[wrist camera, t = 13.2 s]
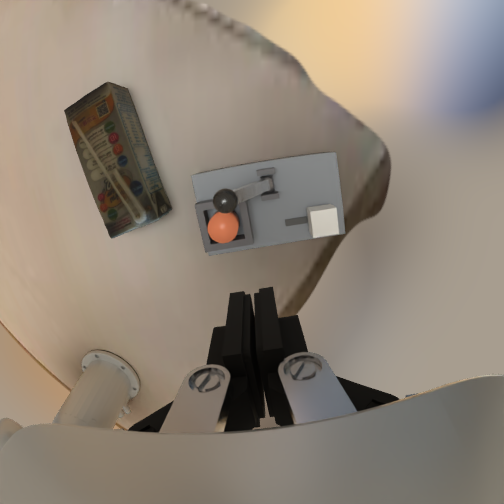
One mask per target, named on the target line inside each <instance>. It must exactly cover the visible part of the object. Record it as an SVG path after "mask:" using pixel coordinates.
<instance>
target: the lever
mask: <svg viewBox="0 0 504 504" xmlns="http://www.w3.org/2000/svg"><path fill="white" fill-rule="evenodd" d="M260 178H261V180H259V181H256V182H254V183H251V184H248V185H245V186H242V187H240V188H237V189H234V190H231V189H228V188H224V189H220V190H218V191H217V192H216V193H215V195H214V197H213V205H214V207H215V209H216V210H217V211H218V212H220V213H224V214H227V213H231V212H232V211H234V210H235V209H236V207H237V205H238V204H239V203H242V202H244V201H246V200H248V199H250V198H253V197H255V196H257V195H259V194H262V193H270V192H274V191H275V185H274V179H273V175H267V176H262V177H260Z"/></svg>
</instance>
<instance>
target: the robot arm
mask: <svg viewBox="0 0 504 504" xmlns="http://www.w3.org/2000/svg"><path fill="white" fill-rule="evenodd" d="M254 304H255V316H254V311H253V306H252V301H251V296H250V294H247V295H245V292H244V291H242V292H236V293H230V298H229V305H228V313H227V320H226V326H221V327H215V328H214V329H213V333H212V339H211V344H210V349H209V354H208V359H207V364H206V365H204V366H200V367H198V368H196V369H194V370H192V371H191V372H190V373H188V374H187V376H186V377H185V379H184V381H183V383H182V385H181V387H180V389H179V391H178V393H177V395H176V398H175V400H174V401H172V402H171V403H169V404H167V405H166V406H164V407H163V408H161V409H159V410H158V411H156V412H155V413H153V414H151V415H150V416H148V417H146V418H145V419H143V420H141V421H139V422H138V423H136V424H134V425H133V426H132V427H130V428H129V430H128V431H125V430H124V429H114V430H113V428H114V426H115V423H116V421H117V419H118V418H121V417H123V416H124V414H125V413H126V414H129V413H130V412H131V410H130V408H129V407H128V406H127V403H128V401H129V399H132V398H133V397H135V396H136V395H137V393H138V391H139V388H140V382H139V378H138V376H137V374H136V373H135V371H134V370H133V369H132V368H131V367H130V365H129V364H127V363H126V362H125V361H124V360H122V359H121V358H119V357H118V356H116V355H114V354H112V353H109V352H106V351H102V350H94V351H90V352H88V353H87V354H86V355H85V356H84V358H83V360H82V370H83V374H82V375H81V377H80V378H79V380H78V381H77V383H76V385H75V386H74V388H73V389H72V391H71V392H70V394H69V396H68V397H67V399H66V400H65V402H64V404H63V405H62V407H61V409H60V410H59V412H58V413H57V415H56V417H55V418H54V420H53V423H52V424H38V425H31V426H28V427H25V428H23V427H22V426H21V425H19V424H18V423H17V422H15V421H14V420H12V419H9V418H3V419H1V420H0V504H504V375H501V374H492V375H483V376H476V377H471V378H467V379H462V380H459V381H456V382H452V383H449V384H445V385H442V386H440V387H437V388H434V389H431V390H428V391H425V392H423V393H418V394H411V395H406V398H404V399H399V398H397V397H396V396H393V395H391V394H388V393H385V392H382V391H379V390H376V389H372V388H369V387H366V386H363V385H360V384H357V383H354V382H351V381H349V380H346V379H343V378H340V377H337V376H335V374H334V373H333V371H332V369H331V368H330V366H329V364H328V363H327V361H326V360H325V359H324V358H323V357H322V356H320V355H319V354H316V353H311V352H308V350H307V346H306V343H305V339H304V335H303V332H302V328H301V325H300V322H299V318H298V315H295V316H289V317H283V318H278V315H277V309H276V303H275V297H274V291H273V287H268V288H262V289H259V293H254ZM264 392H265V397H266V401H267V406H268V411H269V415H270V417H275V421H276V424H278V425H280V427H273V428H264V429H255V430H252V429H253V428H254V427H260V418H265V402H264ZM122 408H123V410H124V412H125V413H124V412H123V410H122Z"/></svg>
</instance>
